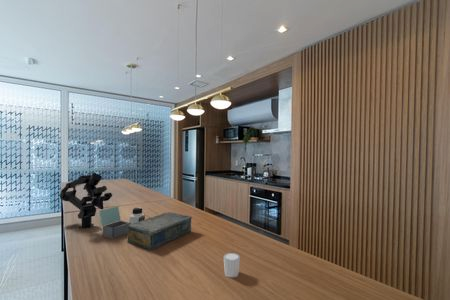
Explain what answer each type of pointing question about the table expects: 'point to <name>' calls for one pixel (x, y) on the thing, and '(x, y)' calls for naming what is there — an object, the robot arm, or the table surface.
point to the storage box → (115, 229)
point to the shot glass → (231, 264)
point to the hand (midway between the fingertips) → (102, 209)
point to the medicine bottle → (137, 215)
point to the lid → (109, 215)
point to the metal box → (158, 230)
